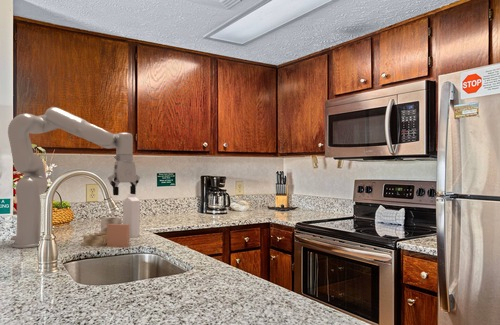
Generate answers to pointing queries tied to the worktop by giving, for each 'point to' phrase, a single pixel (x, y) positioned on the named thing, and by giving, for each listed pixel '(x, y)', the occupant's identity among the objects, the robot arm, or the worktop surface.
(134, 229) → the milk
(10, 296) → the worktop surface
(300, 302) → the worktop surface
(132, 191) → the robot arm
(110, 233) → the pink square slab
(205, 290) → the worktop surface
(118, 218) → the rack
